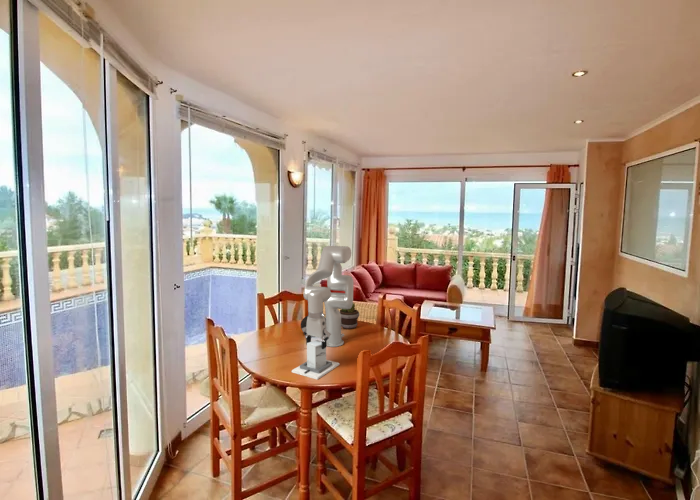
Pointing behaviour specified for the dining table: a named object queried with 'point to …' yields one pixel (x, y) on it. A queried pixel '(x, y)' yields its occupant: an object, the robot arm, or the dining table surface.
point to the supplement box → (316, 355)
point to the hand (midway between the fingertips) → (316, 346)
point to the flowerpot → (349, 317)
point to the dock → (315, 370)
